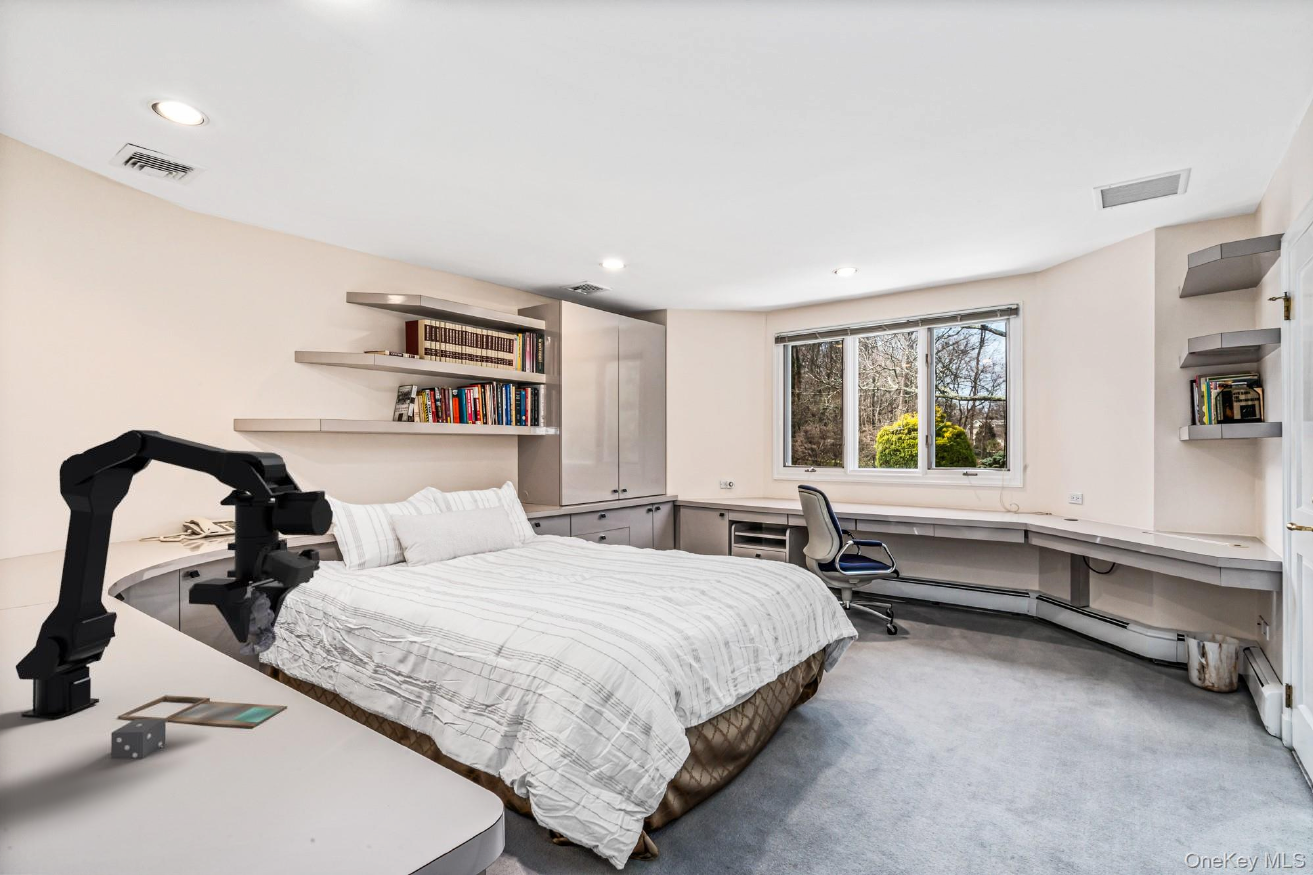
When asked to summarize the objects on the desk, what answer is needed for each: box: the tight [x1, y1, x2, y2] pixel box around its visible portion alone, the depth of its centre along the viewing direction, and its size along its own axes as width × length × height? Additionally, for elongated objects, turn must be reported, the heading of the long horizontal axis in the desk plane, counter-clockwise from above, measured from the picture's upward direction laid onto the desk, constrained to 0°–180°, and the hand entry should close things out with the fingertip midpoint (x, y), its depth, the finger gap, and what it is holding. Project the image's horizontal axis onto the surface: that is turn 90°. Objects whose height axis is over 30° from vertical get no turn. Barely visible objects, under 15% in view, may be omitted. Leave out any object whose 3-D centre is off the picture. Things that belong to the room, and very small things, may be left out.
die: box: [110, 719, 167, 760], centre depth 85 cm, size 4×4×4 cm
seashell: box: [238, 588, 277, 656], centre depth 96 cm, size 5×5×10 cm
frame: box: [117, 694, 211, 723], centre depth 98 cm, size 8×8×1 cm
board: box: [167, 700, 288, 729], centre depth 97 cm, size 15×7×1 cm, turn 82°
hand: (255, 637), depth 96 cm, fingers closed on seashell, 5 cm apart
